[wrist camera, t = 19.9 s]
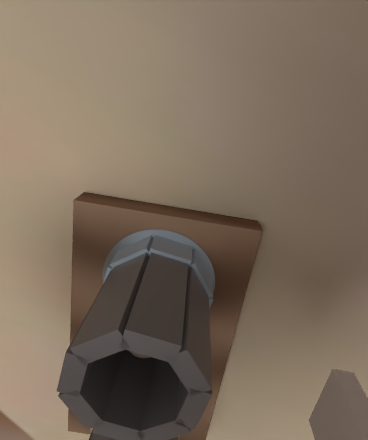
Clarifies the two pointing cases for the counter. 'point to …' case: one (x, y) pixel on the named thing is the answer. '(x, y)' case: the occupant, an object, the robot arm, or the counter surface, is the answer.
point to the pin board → (177, 231)
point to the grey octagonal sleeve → (144, 346)
